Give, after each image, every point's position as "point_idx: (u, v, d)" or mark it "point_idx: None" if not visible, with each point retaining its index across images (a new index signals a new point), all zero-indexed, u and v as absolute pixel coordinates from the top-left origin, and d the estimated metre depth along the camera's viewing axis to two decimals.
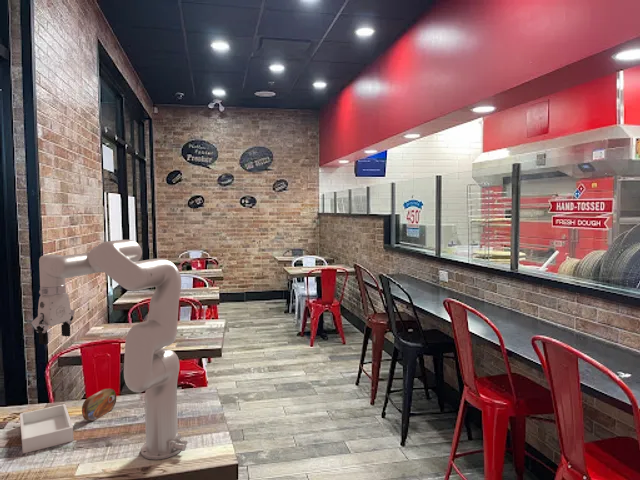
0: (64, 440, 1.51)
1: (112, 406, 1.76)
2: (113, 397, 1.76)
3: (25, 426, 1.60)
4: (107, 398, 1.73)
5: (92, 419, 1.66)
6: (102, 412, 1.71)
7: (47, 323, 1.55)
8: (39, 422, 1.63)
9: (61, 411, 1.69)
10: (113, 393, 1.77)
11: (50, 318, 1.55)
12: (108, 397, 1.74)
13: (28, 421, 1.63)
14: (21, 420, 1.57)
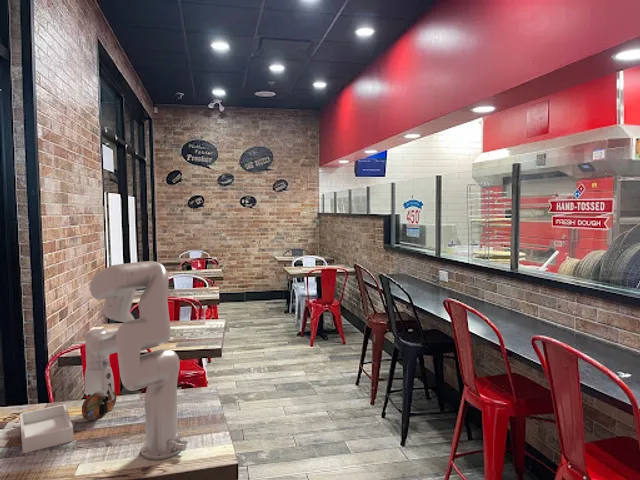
0: (64, 440, 1.51)
1: (112, 406, 1.76)
2: (113, 397, 1.76)
3: (25, 426, 1.60)
4: None
5: (92, 419, 1.66)
6: None
7: (113, 390, 1.71)
8: (39, 422, 1.63)
9: (61, 411, 1.69)
10: (113, 393, 1.77)
11: None
12: None
13: (28, 421, 1.63)
14: (21, 420, 1.57)
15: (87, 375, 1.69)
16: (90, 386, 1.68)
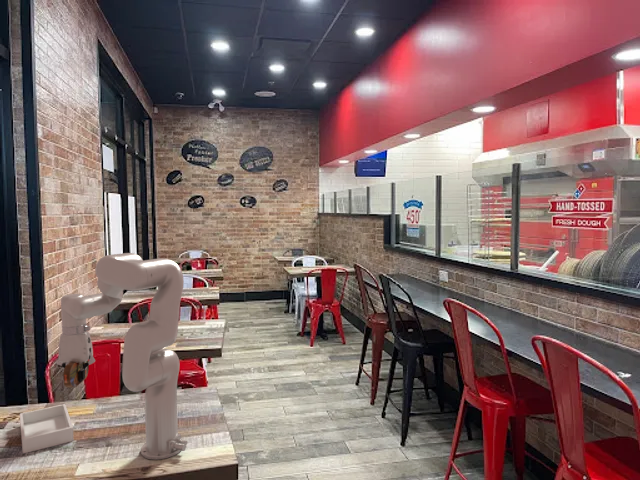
0: (64, 440, 1.51)
1: (86, 374, 1.69)
2: None
3: (25, 426, 1.60)
4: None
5: (73, 386, 1.59)
6: None
7: (92, 355, 1.66)
8: (39, 422, 1.63)
9: (61, 411, 1.69)
10: (86, 361, 1.70)
11: None
12: None
13: (28, 421, 1.63)
14: (21, 420, 1.57)
15: (63, 342, 1.61)
16: (67, 353, 1.61)
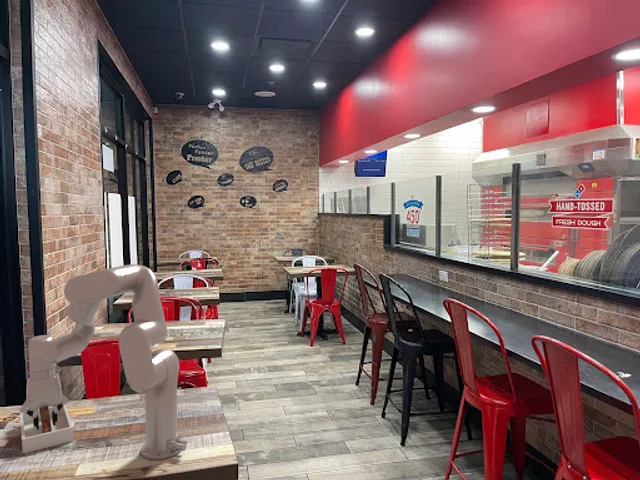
0: (64, 440, 1.51)
1: None
2: None
3: (25, 426, 1.60)
4: None
5: None
6: None
7: None
8: (39, 422, 1.63)
9: (61, 411, 1.69)
10: None
11: None
12: None
13: (28, 421, 1.63)
14: (21, 420, 1.57)
15: (34, 388, 1.52)
16: (39, 398, 1.53)
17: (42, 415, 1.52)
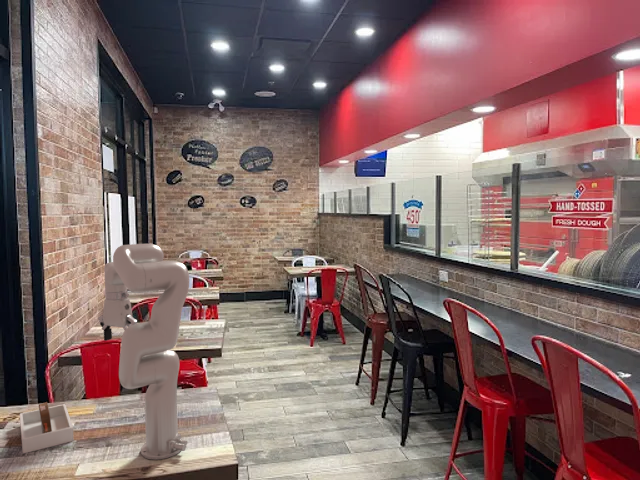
0: (64, 440, 1.51)
1: None
2: None
3: (25, 426, 1.60)
4: None
5: None
6: None
7: None
8: (39, 422, 1.63)
9: (61, 411, 1.69)
10: None
11: None
12: None
13: (28, 421, 1.63)
14: (21, 420, 1.57)
15: (106, 306, 1.71)
16: (109, 317, 1.71)
17: (42, 415, 1.52)
